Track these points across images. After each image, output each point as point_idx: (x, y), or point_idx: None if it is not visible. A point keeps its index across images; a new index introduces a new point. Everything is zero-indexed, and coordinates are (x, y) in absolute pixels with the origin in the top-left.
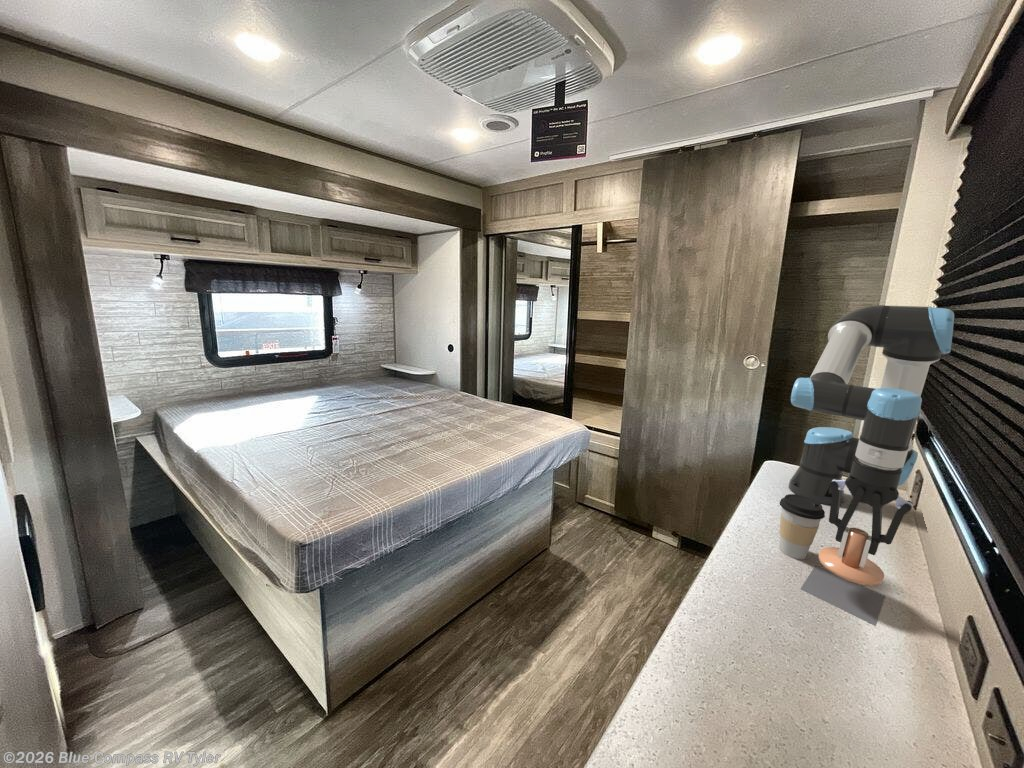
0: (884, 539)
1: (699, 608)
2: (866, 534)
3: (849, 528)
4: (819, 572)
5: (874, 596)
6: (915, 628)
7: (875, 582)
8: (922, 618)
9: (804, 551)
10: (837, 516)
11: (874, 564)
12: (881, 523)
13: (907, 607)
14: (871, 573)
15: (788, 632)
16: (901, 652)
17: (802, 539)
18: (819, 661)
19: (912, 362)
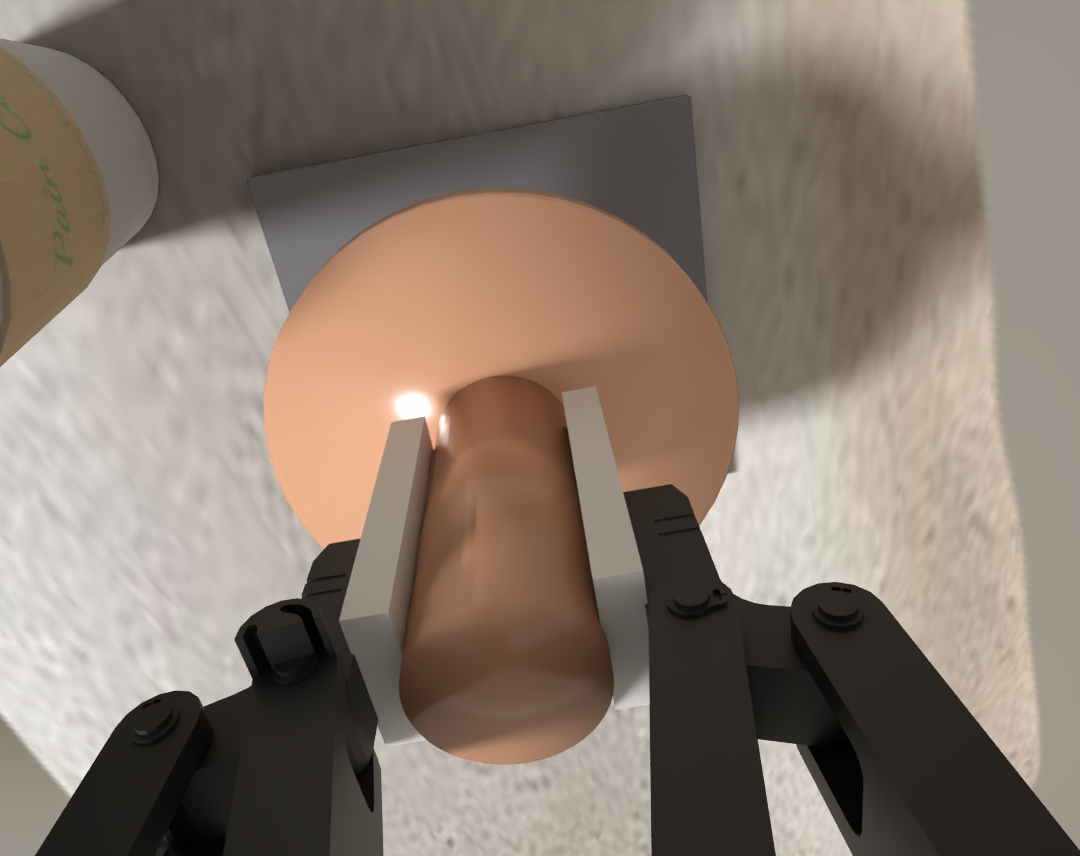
0: (808, 759)
1: None
2: (588, 673)
3: (377, 624)
4: (317, 258)
5: (644, 184)
6: (871, 268)
7: (707, 508)
8: (896, 102)
9: (126, 226)
10: (184, 782)
11: (633, 253)
12: (767, 810)
13: (812, 55)
14: (659, 433)
15: (500, 806)
16: (837, 533)
17: (51, 319)
18: (633, 830)
19: None
